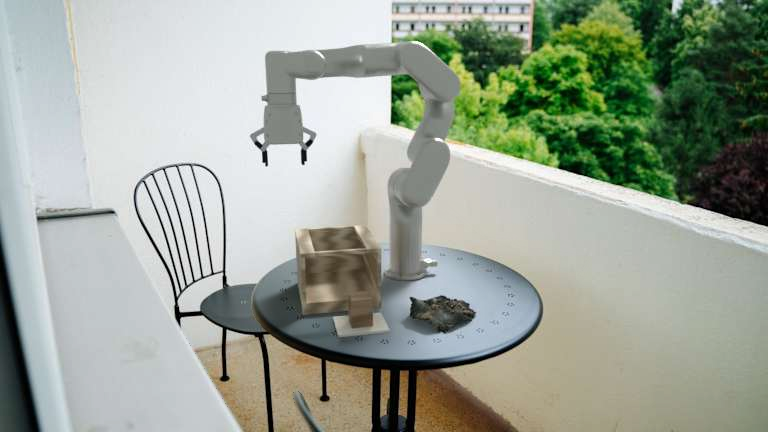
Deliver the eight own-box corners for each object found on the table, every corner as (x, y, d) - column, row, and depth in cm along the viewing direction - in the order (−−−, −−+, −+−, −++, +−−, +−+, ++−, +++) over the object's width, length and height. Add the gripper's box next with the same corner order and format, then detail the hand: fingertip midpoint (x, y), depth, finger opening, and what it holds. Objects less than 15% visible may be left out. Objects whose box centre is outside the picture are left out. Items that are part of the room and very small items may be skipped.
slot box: (366, 277, 169) (365, 224, 165) (381, 307, 148) (381, 248, 144) (297, 283, 165) (295, 229, 161) (303, 314, 145) (300, 253, 140)
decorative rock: (431, 283, 155) (485, 289, 148) (432, 305, 156) (485, 312, 149) (397, 303, 139) (455, 312, 131) (398, 328, 140) (456, 337, 132)
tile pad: (380, 314, 145) (380, 312, 144) (389, 332, 135) (389, 329, 135) (332, 318, 142) (332, 316, 142) (338, 337, 133) (338, 334, 133)
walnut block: (372, 326, 137) (372, 298, 135) (352, 328, 136) (351, 300, 134) (368, 317, 141) (368, 290, 140) (348, 319, 140) (348, 292, 139)
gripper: (247, 101, 145) (251, 168, 150) (316, 100, 149) (318, 166, 153) (248, 99, 153) (252, 163, 157) (313, 98, 156) (315, 161, 160)
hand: (284, 165), depth 155 cm, fingers open, 9 cm apart
